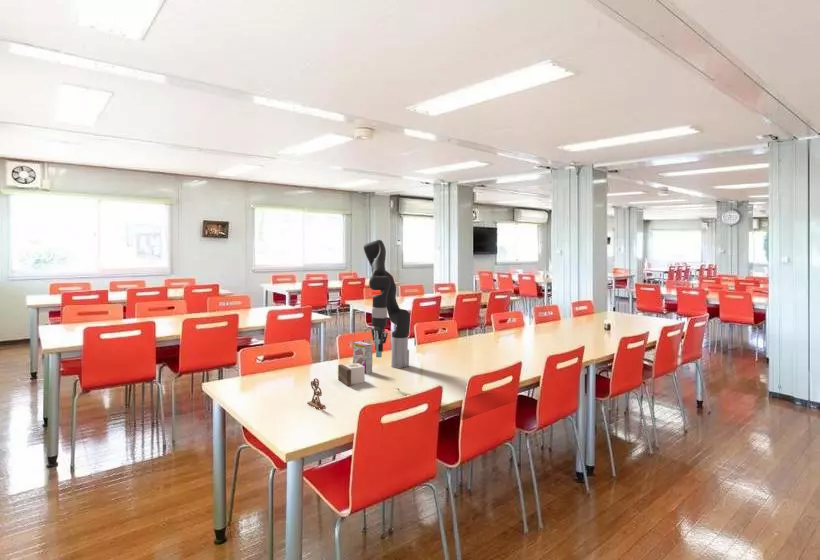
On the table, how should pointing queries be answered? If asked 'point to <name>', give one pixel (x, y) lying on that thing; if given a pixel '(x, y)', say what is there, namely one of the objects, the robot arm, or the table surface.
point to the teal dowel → (378, 354)
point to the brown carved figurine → (314, 401)
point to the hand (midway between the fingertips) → (379, 350)
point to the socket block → (356, 373)
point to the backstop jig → (344, 375)
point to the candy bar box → (363, 355)
